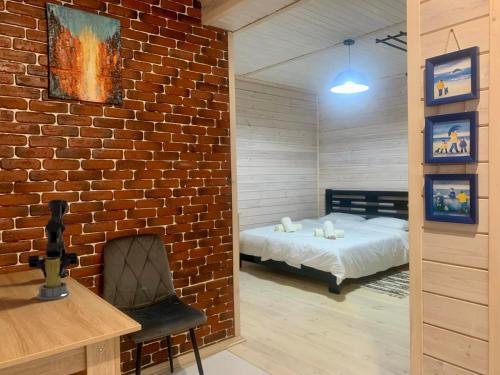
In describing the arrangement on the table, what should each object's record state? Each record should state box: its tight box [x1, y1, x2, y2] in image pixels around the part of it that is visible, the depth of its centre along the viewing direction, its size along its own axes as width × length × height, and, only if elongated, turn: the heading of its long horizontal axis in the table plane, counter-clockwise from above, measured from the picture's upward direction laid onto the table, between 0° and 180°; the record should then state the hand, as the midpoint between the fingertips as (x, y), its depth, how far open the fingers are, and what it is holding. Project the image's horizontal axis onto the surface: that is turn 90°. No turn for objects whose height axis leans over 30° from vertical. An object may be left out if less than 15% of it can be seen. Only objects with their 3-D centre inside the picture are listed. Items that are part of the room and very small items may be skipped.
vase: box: [45, 257, 62, 288], centre depth 160 cm, size 6×6×14 cm
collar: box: [36, 281, 70, 302], centre depth 160 cm, size 12×12×4 cm
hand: (52, 276), depth 159 cm, fingers closed on vase, 5 cm apart
